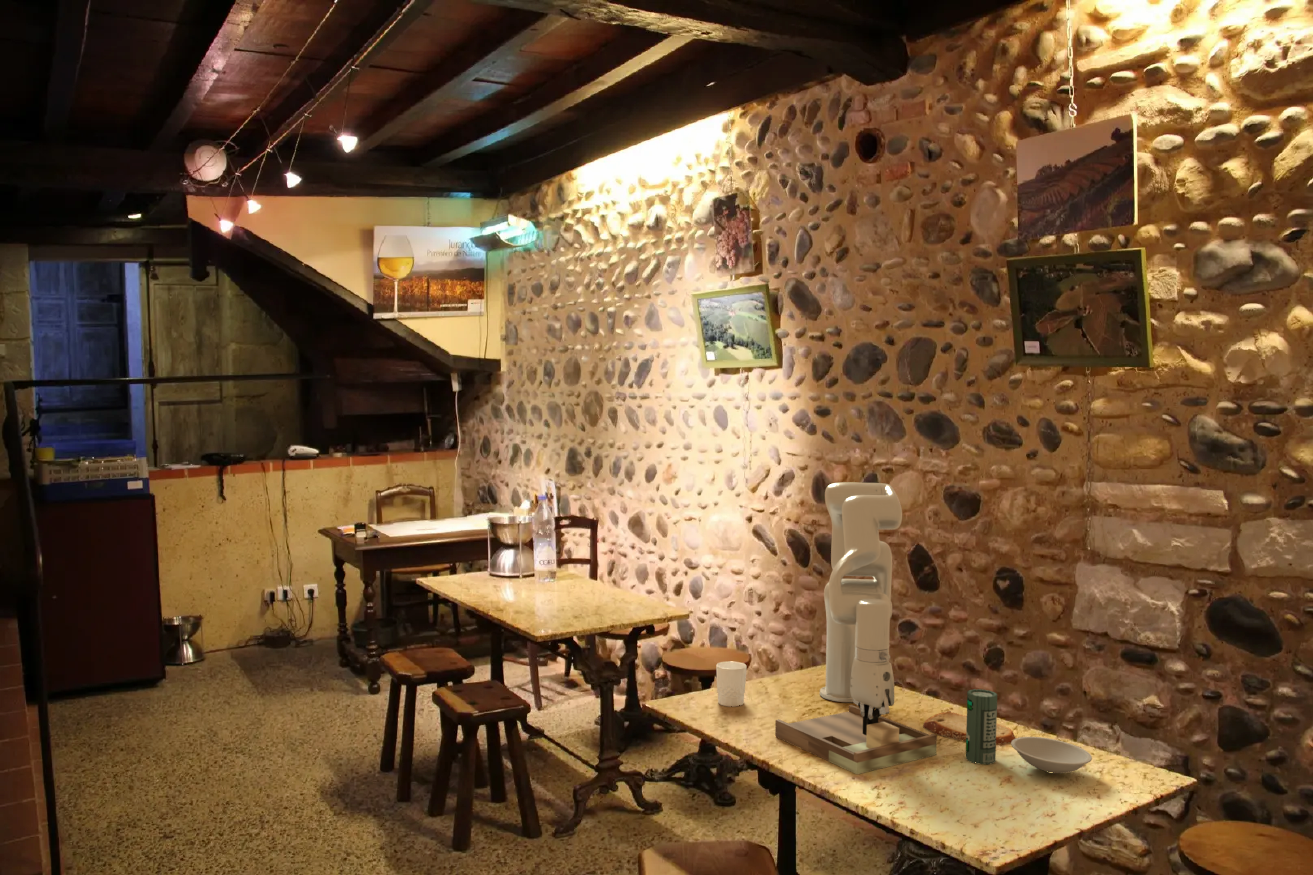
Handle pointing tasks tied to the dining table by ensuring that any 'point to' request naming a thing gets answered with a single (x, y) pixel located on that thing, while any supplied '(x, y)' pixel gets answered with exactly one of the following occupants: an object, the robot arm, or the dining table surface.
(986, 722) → the can
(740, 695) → the white cup
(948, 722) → the bread slice
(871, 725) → the maple block
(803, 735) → the box
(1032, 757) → the dish
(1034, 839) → the dining table surface
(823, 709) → the dining table surface
